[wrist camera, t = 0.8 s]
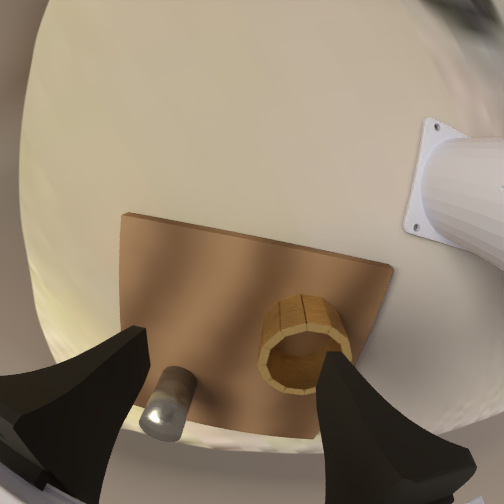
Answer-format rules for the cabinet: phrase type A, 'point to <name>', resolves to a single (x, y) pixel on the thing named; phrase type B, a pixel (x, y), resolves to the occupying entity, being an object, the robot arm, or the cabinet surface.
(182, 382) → the steel piston
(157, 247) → the walnut board
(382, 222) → the cabinet surface
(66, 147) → the cabinet surface
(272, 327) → the wooden barrel ring
